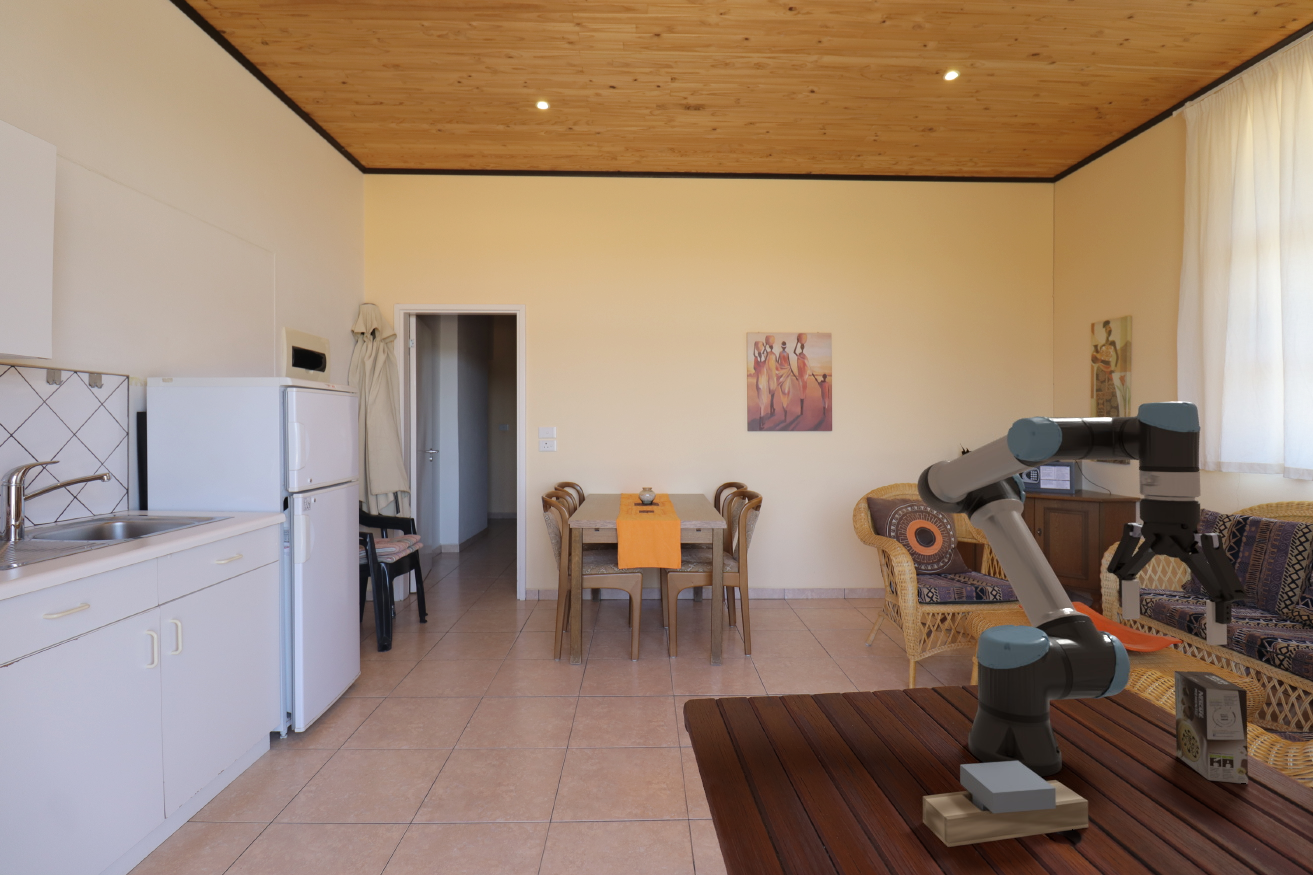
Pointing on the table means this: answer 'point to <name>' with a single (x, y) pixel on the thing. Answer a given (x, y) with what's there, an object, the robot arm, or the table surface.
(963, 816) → the rail
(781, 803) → the table surface
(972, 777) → the grey plastic block
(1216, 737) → the coffee box
